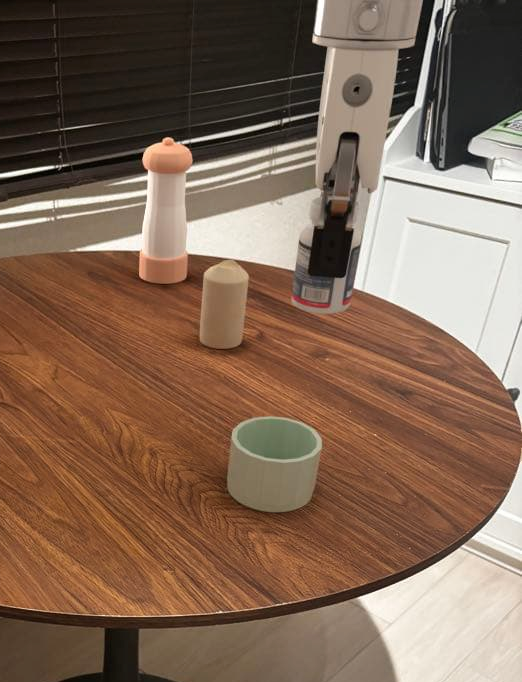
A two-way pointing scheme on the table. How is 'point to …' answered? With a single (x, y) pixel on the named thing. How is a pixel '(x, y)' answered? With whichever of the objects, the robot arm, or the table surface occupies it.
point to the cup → (273, 463)
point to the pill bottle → (323, 291)
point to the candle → (223, 305)
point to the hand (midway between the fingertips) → (327, 261)
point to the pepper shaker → (165, 214)
